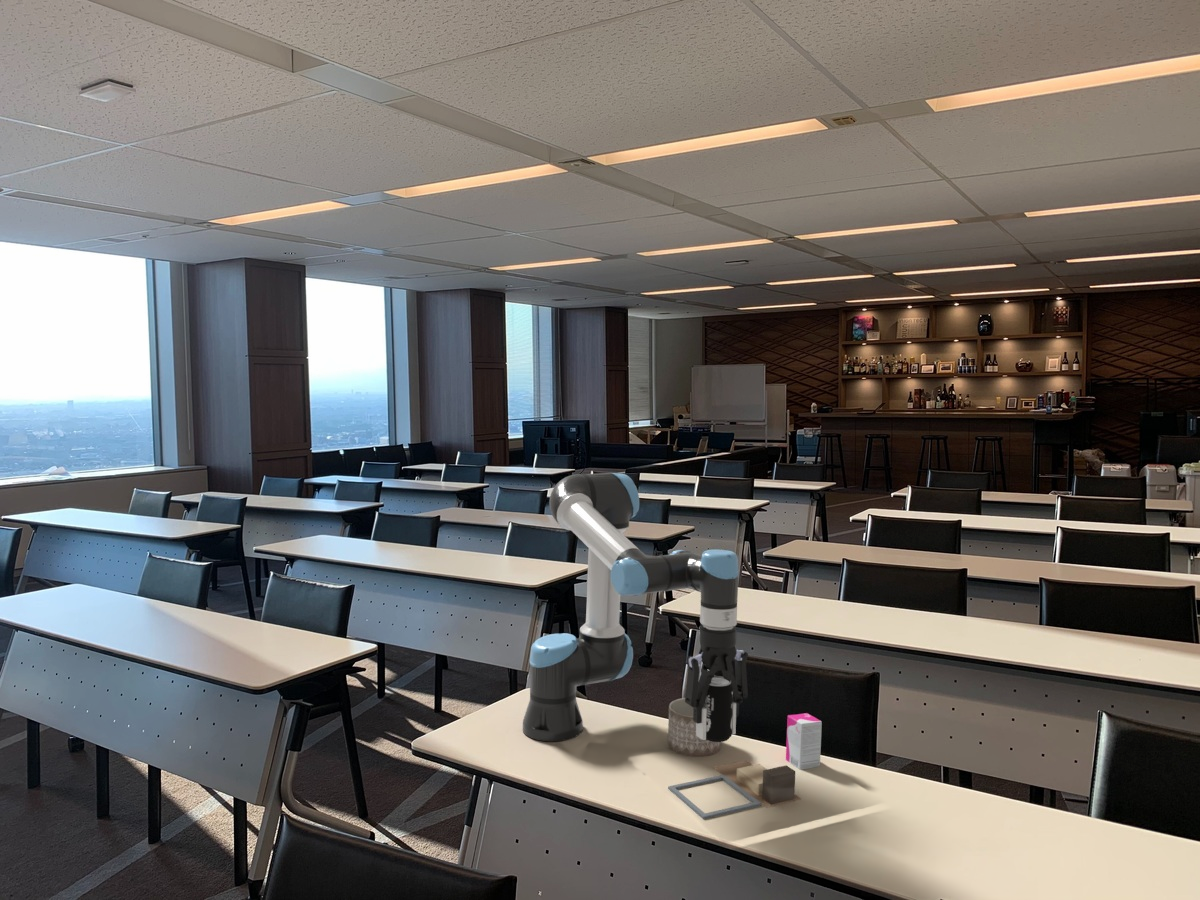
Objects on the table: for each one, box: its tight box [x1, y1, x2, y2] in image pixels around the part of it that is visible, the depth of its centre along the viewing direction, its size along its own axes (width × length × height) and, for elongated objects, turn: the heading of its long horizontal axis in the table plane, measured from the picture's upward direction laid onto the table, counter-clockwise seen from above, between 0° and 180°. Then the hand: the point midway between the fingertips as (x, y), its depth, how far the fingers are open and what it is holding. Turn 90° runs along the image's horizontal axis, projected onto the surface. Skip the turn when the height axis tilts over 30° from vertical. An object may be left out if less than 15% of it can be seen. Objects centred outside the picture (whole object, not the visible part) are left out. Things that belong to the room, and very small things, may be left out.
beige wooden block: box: [737, 763, 768, 796], centre depth 181 cm, size 8×6×2 cm
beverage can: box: [703, 675, 733, 743], centre depth 174 cm, size 7×7×12 cm
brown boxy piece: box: [712, 760, 802, 808], centre depth 182 cm, size 20×9×7 cm, turn 25°
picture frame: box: [667, 774, 762, 820], centre depth 175 cm, size 14×14×2 cm
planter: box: [667, 697, 722, 757], centre depth 201 cm, size 13×13×10 cm
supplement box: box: [785, 712, 823, 770], centre depth 192 cm, size 6×6×12 cm
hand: (715, 734), depth 174 cm, fingers closed on beverage can, 7 cm apart
